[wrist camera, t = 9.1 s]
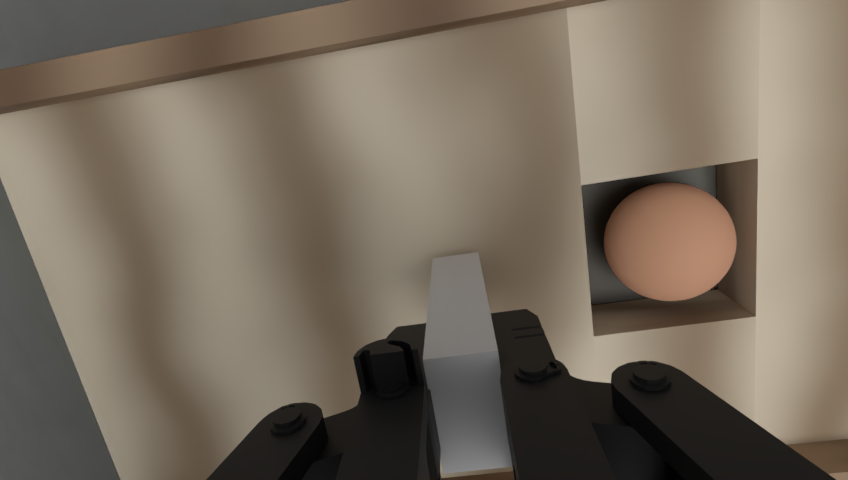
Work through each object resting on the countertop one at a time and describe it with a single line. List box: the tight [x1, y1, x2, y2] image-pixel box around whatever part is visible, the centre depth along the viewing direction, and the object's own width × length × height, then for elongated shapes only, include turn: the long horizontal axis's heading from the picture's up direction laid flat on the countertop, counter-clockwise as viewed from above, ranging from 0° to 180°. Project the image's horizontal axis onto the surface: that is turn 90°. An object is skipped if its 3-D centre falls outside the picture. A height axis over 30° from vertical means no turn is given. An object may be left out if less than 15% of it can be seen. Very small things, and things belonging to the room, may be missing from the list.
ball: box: [604, 182, 737, 301], centre depth 17 cm, size 4×4×4 cm
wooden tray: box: [0, 0, 848, 480], centre depth 17 cm, size 31×18×5 cm, turn 100°
